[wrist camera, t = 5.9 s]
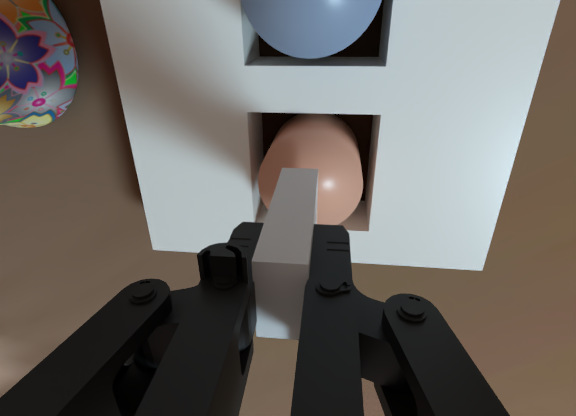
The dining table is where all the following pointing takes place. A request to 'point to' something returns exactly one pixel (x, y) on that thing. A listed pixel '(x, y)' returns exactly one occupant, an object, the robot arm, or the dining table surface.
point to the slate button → (310, 24)
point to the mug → (35, 63)
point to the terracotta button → (317, 163)
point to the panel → (332, 100)
